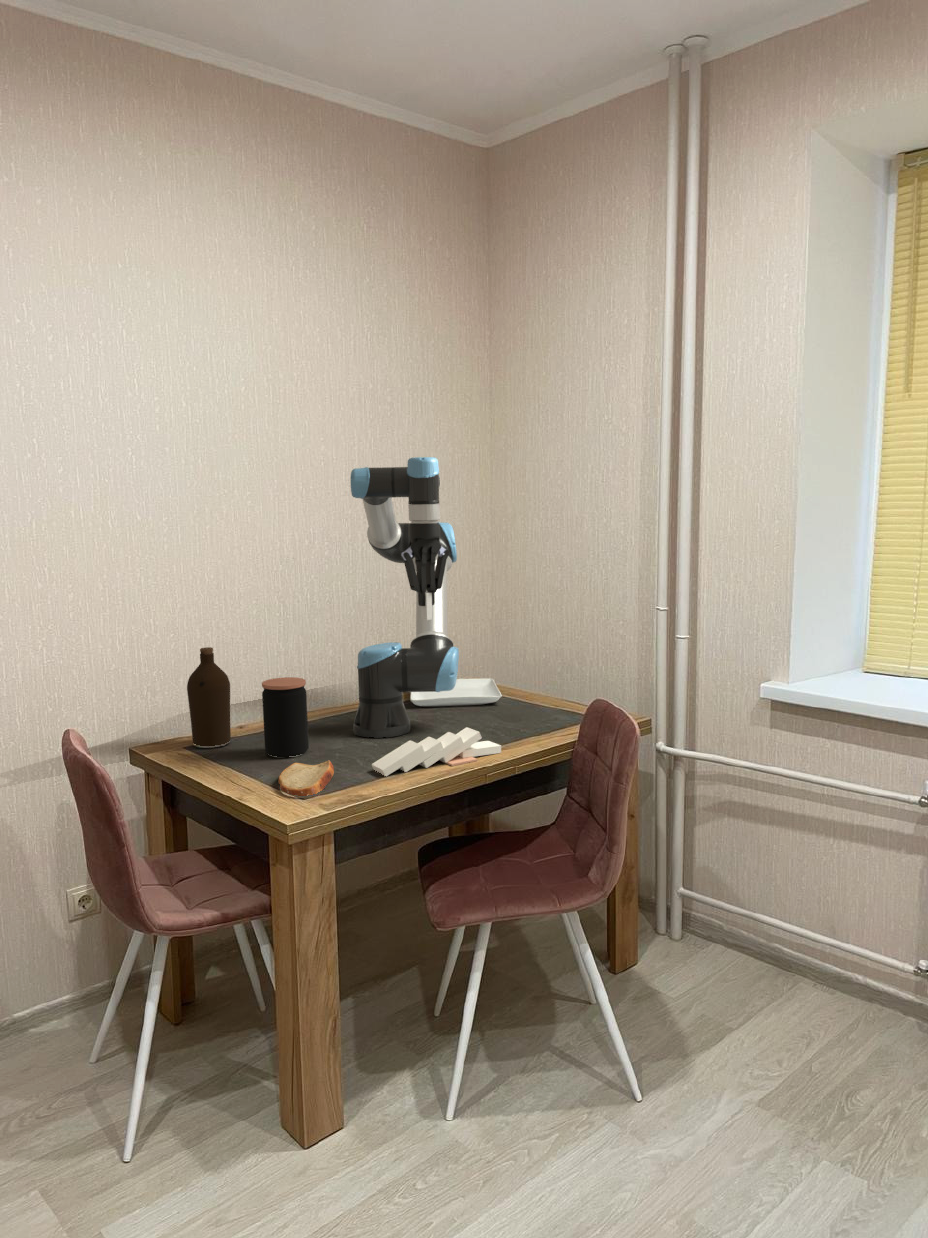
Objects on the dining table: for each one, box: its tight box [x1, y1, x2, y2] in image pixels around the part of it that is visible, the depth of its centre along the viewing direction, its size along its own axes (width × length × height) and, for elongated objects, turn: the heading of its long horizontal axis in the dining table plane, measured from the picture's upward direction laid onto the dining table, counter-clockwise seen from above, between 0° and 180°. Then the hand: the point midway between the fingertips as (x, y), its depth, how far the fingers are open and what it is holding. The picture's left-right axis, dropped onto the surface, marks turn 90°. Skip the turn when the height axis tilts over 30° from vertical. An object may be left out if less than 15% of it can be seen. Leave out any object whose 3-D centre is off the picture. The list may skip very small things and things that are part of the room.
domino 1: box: [371, 740, 424, 777], centre depth 216 cm, size 2×6×11 cm
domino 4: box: [438, 726, 483, 764], centre depth 224 cm, size 2×6×11 cm
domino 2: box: [398, 736, 443, 773], centre depth 219 cm, size 2×6×11 cm
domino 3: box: [418, 731, 463, 769], centre depth 221 cm, size 2×6×11 cm
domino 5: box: [457, 740, 502, 758], centre depth 228 cm, size 2×6×11 cm
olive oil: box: [186, 646, 232, 746], centre depth 240 cm, size 11×11×25 cm
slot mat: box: [438, 756, 478, 767], centre depth 224 cm, size 7×10×1 cm
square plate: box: [409, 677, 503, 708], centre depth 289 cm, size 27×27×4 cm
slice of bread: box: [277, 759, 335, 796], centre depth 208 cm, size 18×18×4 cm
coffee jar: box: [261, 676, 310, 757], centre depth 231 cm, size 11×11×18 cm
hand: (426, 618), depth 230 cm, fingers closed
